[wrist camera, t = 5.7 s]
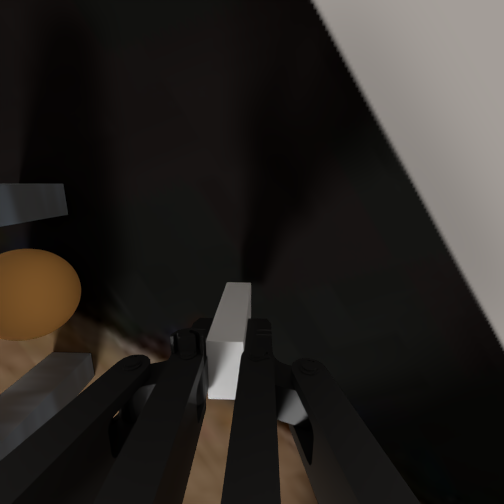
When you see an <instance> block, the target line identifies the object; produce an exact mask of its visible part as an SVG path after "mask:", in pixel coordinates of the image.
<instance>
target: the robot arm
mask: <svg viewBox="0 0 504 504" xmlns="http://www.w3.org/2000/svg"><path fill="white" fill-rule="evenodd" d="M170 342H171V356H170V358H169V360H167V361H163V362H158V363H152V364H150V359H149V358H148V357H147V356H145V355H131V356H128V357H126V358H123V359H122V360H120V361H119V362H117V363H116V364H115V365H114V366H113V367H111V368H110V369H109V370H108V371H107V372H105V373H104V374H103V375H102V376H101V377H99V378H98V379H97V380H96V381H95V382H93V383H92V384H91V385H90V386H89V387H87V388H86V389H85V390H84V391H83V392H82V393H80V394H79V395H78V396H77V397H76V398H74V399H73V400H72V401H71V402H70V403H68V404H67V405H66V406H65V407H64V408H62V409H61V410H60V411H59V412H58V413H57V414H55V415H54V416H53V417H52V418H51V419H49V420H48V421H47V422H46V423H45V424H43V425H42V426H41V427H40V428H39V429H37V430H36V431H35V432H34V433H33V434H32V435H30V436H29V437H28V438H27V439H26V440H24V441H23V442H22V443H21V444H20V445H18V446H17V447H16V448H15V449H14V450H12V451H11V452H10V453H9V454H8V455H7V456H5V457H4V458H3V459H2V460H1V461H0V504H182V502H183V498H184V494H185V490H186V486H187V482H188V478H189V474H190V470H191V466H192V462H193V458H194V454H195V450H196V446H197V443H198V439H199V435H200V431H201V427H202V423H203V419H204V415H205V411H206V395H207V391H208V399H233V400H235V403H234V411H233V418H232V426H231V433H230V440H229V448H228V455H227V462H226V470H225V477H224V484H223V492H222V499H221V504H281V498H280V478H279V457H278V437H277V420H280V421H283V422H286V423H289V427H290V431H291V433H292V436H293V438H294V441H295V444H296V446H297V449H298V452H299V454H300V457H301V459H302V462H303V465H304V467H305V470H306V473H307V475H308V478H309V480H310V483H311V486H312V488H313V491H314V494H315V496H316V499H317V501H318V504H420V502H419V501H418V499H417V498H416V496H415V495H414V493H413V492H412V491H411V489H410V488H409V486H408V485H407V483H406V482H405V481H404V479H403V478H402V476H401V475H400V473H399V472H398V471H397V469H396V468H395V466H394V465H393V463H392V462H391V460H390V459H389V458H388V456H387V455H386V453H385V452H384V450H383V449H382V448H381V446H380V445H379V443H378V442H377V440H376V439H375V437H374V436H373V435H372V433H371V432H370V430H369V429H368V427H367V426H366V425H365V423H364V422H363V420H362V419H361V417H360V416H359V415H358V413H357V412H356V410H355V409H354V407H353V406H352V404H351V403H350V402H349V400H348V399H347V397H346V396H345V394H344V393H343V392H342V390H341V389H340V387H339V386H338V384H337V383H336V381H335V380H334V379H333V377H332V376H331V374H330V373H329V371H328V370H327V369H326V367H325V366H324V365H323V364H322V363H320V362H319V361H317V360H314V359H309V358H302V359H298V360H296V361H295V362H293V364H292V366H290V365H287V364H284V363H281V362H279V361H278V360H277V359H276V358H275V357H274V356H273V352H272V332H271V323H270V322H269V321H268V320H267V319H253V318H251V283H231V282H227V284H226V287H225V289H224V292H223V295H222V298H221V301H220V303H219V306H218V309H217V312H216V314H215V317H214V318H200V319H198V320H197V321H196V322H194V323H193V325H192V327H191V328H187V329H181V330H178V331H176V332H174V333H173V334H172V335H171V336H170ZM118 411H119V413H118V414H117V415H116V416H115V417H114V415H115V414H116V413H117V412H118ZM113 417H114V418H113Z"/></svg>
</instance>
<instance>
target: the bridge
mask: <svg viewBox="0 0 504 504" xmlns="http://www.w3.org/2000/svg"><path fill="white" fill-rule="evenodd" d="M63 215H68V210H67V204H66V198H65V192H64V186H63V184H0V227H1V226H7V225H12V224H18V223H24V222H29V221H35V220H41V219H46V218H52V217H58V216H63ZM93 377H94V370H93V364H92V357H91V353H66V352H52V353H51V354H50V355H48V356H47V357H46V358H45V359H43V360H42V361H41V362H40V363H38V364H37V365H36V366H35V367H34V368H32V369H31V370H30V371H29V372H27V373H26V374H25V375H24V376H23V377H21V378H20V379H19V380H18V381H16V382H15V383H14V384H13V385H11V386H10V387H9V388H8V389H7V390H5V391H4V392H3V393H2V394H0V461H1V460H2V459H3V458H4V457H5V456H7V455H8V454H9V453H10V452H11V451H12V450H14V449H15V448H16V447H17V446H18V445H20V444H21V443H22V442H23V441H24V440H26V439H27V438H28V437H29V436H30V435H32V434H33V433H34V432H35V431H36V430H37V429H39V428H40V427H41V426H42V425H43V424H45V423H46V422H47V421H48V420H49V419H51V418H52V417H53V416H54V415H55V414H57V413H58V412H59V411H60V410H61V409H62V408H64V407H65V406H66V405H67V404H68V403H70V402H71V401H72V400H73V399H74V398H76V397H77V395H78V394H79V393H80V392H81V391H82V390H83V388H84V387H85V386H86V385H87V384H88V383H89V382H90V380H91V379H92V378H93Z"/></svg>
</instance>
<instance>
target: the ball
mask: <svg viewBox="0 0 504 504" xmlns="http://www.w3.org/2000/svg"><path fill="white" fill-rule="evenodd" d="M80 297H81V283H80V280H79V277H78V275H77V273H76V271H75V270H74V268H73V267H72V266H71V265H70V264H69V263H68V262H67V261H66V260H64V259H63V258H61V257H59V256H58V255H56V254H53V253H51V252H48V251H44V250H38V249H18V250H13V251H8V252H5V253H2V254H0V339H4V340H11V341H22V340H30V339H35V338H39V337H42V336H45V335H47V334H49V333H51V332H53V331H55V330H57V329H58V328H60V327H61V326H62V325H64V324H65V323H66V322H67V321H68V320H69V319H70V318H71V316H72V315H73V314H74V312H75V310H76V308H77V306H78V304H79V301H80Z"/></svg>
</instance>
